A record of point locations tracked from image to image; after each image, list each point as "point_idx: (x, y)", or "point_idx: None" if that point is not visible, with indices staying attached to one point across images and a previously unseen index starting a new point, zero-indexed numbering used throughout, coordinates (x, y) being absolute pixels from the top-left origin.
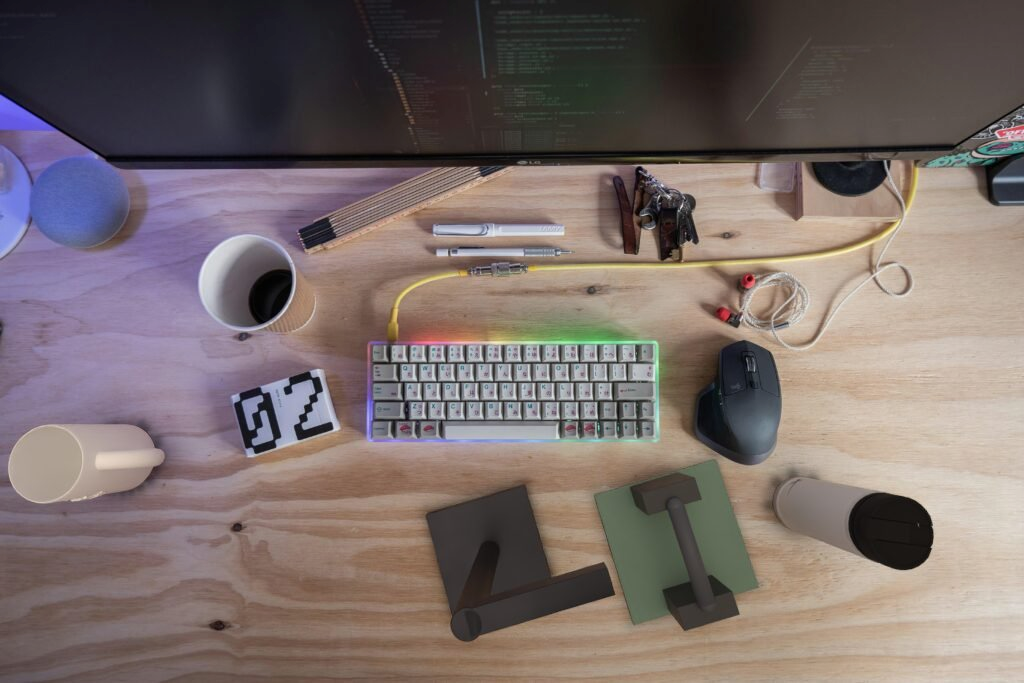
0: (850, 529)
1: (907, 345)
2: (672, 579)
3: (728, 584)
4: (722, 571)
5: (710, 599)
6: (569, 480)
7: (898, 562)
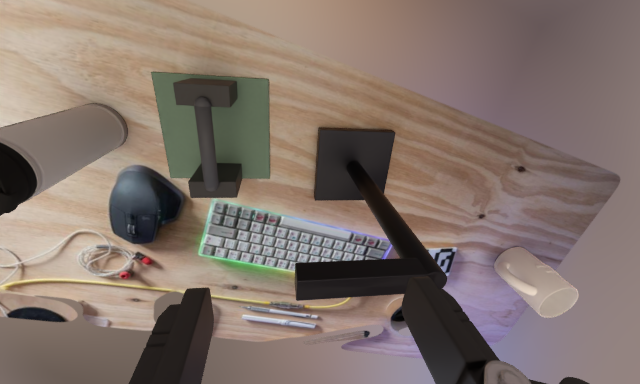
0: (33, 182)
1: None
2: None
3: None
4: None
5: (198, 110)
6: (283, 190)
7: None
